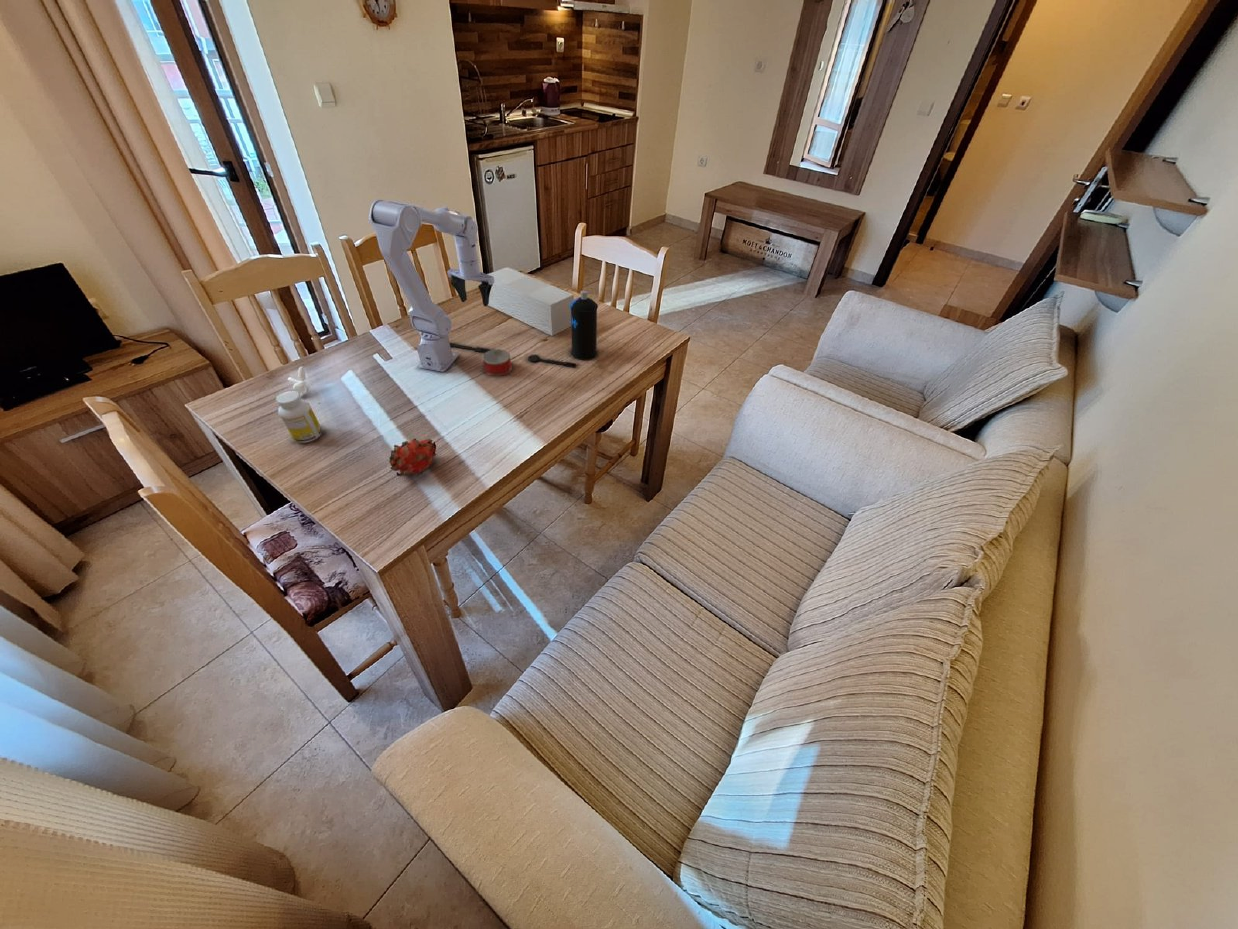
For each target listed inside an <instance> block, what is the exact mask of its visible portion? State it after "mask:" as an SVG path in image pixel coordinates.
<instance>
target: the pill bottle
mask: <svg viewBox="0 0 1238 929" xmlns="http://www.w3.org/2000/svg"><path fill="white" fill-rule="evenodd" d="M275 401H276V403H277V404H278V406H279V407H278V409H277V412H278V415H279V417H280V418H281V421H282V422H283V424H284V426H285V427H286V429H287V431H288V432H289V434H290V436H291V438H292V439H293V441H295V442H297V443H299V444H300V443H303V444H304V443H305V444H306V443H311V442H313V441H315V440H317V439H318V438H320V437H321V435H322V433H323V428H322V426H321V424H320V422H319V420H318V418H317V417H316V414H315V413H314V410H313V409H312V407H311V404H310V403H309V402H308V401H307V400H305V399H302V396H300V394H299V393H298V392H296V391H293V390H289V391H284V392H282V393H280V394H278V395H277V396H276V398H275Z"/></svg>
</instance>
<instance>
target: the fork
mask: <svg viewBox="0 0 1238 929" xmlns="http://www.w3.org/2000/svg"><path fill="white" fill-rule="evenodd" d="M449 343H450V347H451V348H455V349H456V348H457V349H462V350H468V351H470V350H472V351H474V352H475V353H483V354H485V353H486V352H488V351H490V350H491V349H490V348H483V347H479V346H477V347H473V346H468V345H464V344H458V343H457V344H456V343H454V342H449Z"/></svg>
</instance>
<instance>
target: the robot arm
mask: <svg viewBox="0 0 1238 929" xmlns="http://www.w3.org/2000/svg"><path fill="white" fill-rule="evenodd" d="M368 214H369V215H368V222H369V224H370V226H371V227H372V229H373V231H374V232H375V235H376V239H377V244H378V247H379V251H380V253H381V255H382V257H383V259H384V261H385V263H386V264H387V266H388V268H389V270H390V271H391V273H392V275H393V277H394V278H395V280H396V283H398V286H399V287H400V289H401V291H402V292H403V294H404V296H405V298H406V299H407V301H408V303H409V304H410V307H409V309H408V311H407V314H408V316H409V319H410V323H411V326H412V328H413V329H414V330H416V331H417V333H418V335H420V342H419V344H418V345H417V348H416V350H417V354H418V358H419V361H420V365H419V368H420V369H425V370H431V371H437V372H441V373H442V372H443V373H444V372H446V370H448V369H449V367H451V365H452V364H453V363H454V362H455V360H456V359H457V358H458V357H459V354H458V353H453V352H452V347H450V343H451V342H450V338H449V334H450V332H451V330H452V327H453V326H452V325H453V324H452V320H451V317H450V316H449V315H448V314H446V312H445V311H444V310H443V308H442V307H440V306H439V304H437V303H435V302H433V300H432V298H431V296H430V294H429V292H428V290H427V288H426V286H425V284H424V282H423V280H422V279H421V276H420V275H419V272H418V271H417V269H416V267H415V265H414V263H413V261H412V260H411V257H410V256H409V253H408V251H407V250H409V249H411V248H412V246H413V243H414V241H415V238H416V237H417V234H418V231H419V228H421V227H422V226H423V223H425V224H429V225H432V226H433V228H434V229H435V230H436V231H437V232H439V233H444V234H448V235H451V236H453V239H454V240H453V241H454V245H455V250H456V257H457V261H458V268H459V269H453V268H450V269H448V270H447V271H446V272H447V277H448V278H451V280H449V282H450V285H451V286H452V287H453V288H454V289H455V291H456V293H457V294H458V297H459V299H460V301H461V303H465V302H466V301H467V300H468V295H467V290H466V281H473V282H479V283H480V284H479V285H478V286H477V288H478V290H479V292H480V295H481V299H482V305H483V307H487V306H489V305H488V304H489V296H490V291H491V288H492V285H493V283H495V282H494V276H490V275H487V274H488V273H484V272H482V271H481V269H480V264H479V256H478V251H477V249H478V248H477V241H478V238H477V237H478V236H477V234H478V230H479V229H478V228H479V226H478V224H477V222H476V220H475V219H474V218H473V217H472V216H470V215H466V214H461V212H460V211H458V210H454V211H451V210H450V207H448V206H441V207H438V208H436V209H435V210H432V209H429V208H426V207H423V206H420V205H418V204H413V203H408V202H400V201H393V200H387V201H385V200H383V199H376V200H374V201H373V202H372V203H371V205H370V209H369V213H368Z"/></svg>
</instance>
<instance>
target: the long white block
mask: <svg viewBox="0 0 1238 929" xmlns="http://www.w3.org/2000/svg"><path fill="white" fill-rule="evenodd" d="M486 274H487V275H490V276H494V282H495V283H493V285H492V288H491V291H490V296H489V304H488V305H487V306H489V307H491V308H493V309H495V310H497V311H499V312H501V313H503V314H505V315H507V316H510V317H512V318H514V319H516V320H518V321H521V322H522V323H524V324H526V325H529V326H530V327H533V328H535V329H537V330H539V331H541V332H542V333H545V334H547V335H549V336H552V337H553V336H555V335H557V334H559V333H562V332H563V331H565V330H567V329H569V328H571V308H570V304H571V303H572V302H573V301H574V300H575V298H574V297H575V295H574V293H570V292H568V291H566V290H564V289H561V288H559V287H558V286H557V287H556V286H554V285H552V284H549V283H547V282H544V281H542V280H539V279H537V278H535V277H533V276H530V275H527V274H526V273H523V272H520V271H518V270H515V269H514V268H511V267H508V266H506V267H503V268H501V269H498V270H495V271H493V272H490V273H486Z"/></svg>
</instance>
